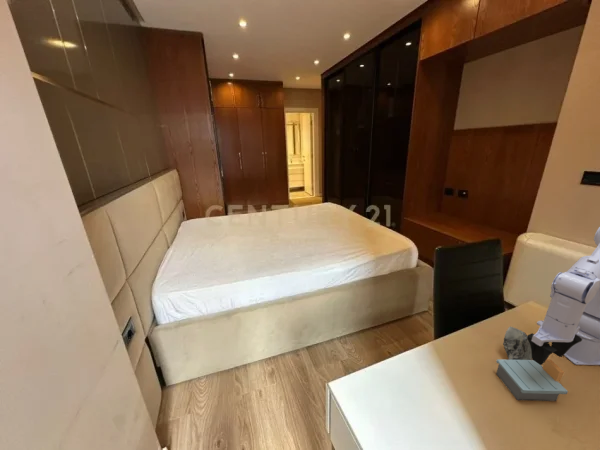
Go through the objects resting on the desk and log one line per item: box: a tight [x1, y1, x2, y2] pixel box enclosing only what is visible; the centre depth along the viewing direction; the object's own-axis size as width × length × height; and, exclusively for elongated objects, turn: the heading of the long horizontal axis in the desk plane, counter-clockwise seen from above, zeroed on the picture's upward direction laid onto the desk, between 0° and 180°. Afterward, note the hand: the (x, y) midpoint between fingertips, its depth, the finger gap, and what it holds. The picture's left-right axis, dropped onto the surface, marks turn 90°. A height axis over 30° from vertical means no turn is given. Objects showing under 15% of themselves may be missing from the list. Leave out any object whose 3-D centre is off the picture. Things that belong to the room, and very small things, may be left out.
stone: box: [502, 325, 532, 360], centre depth 79 cm, size 10×10×10 cm
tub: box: [495, 364, 560, 402], centre depth 69 cm, size 10×8×4 cm
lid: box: [495, 358, 569, 395], centre depth 67 cm, size 12×10×4 cm
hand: (546, 357), depth 66 cm, fingers open, 7 cm apart
